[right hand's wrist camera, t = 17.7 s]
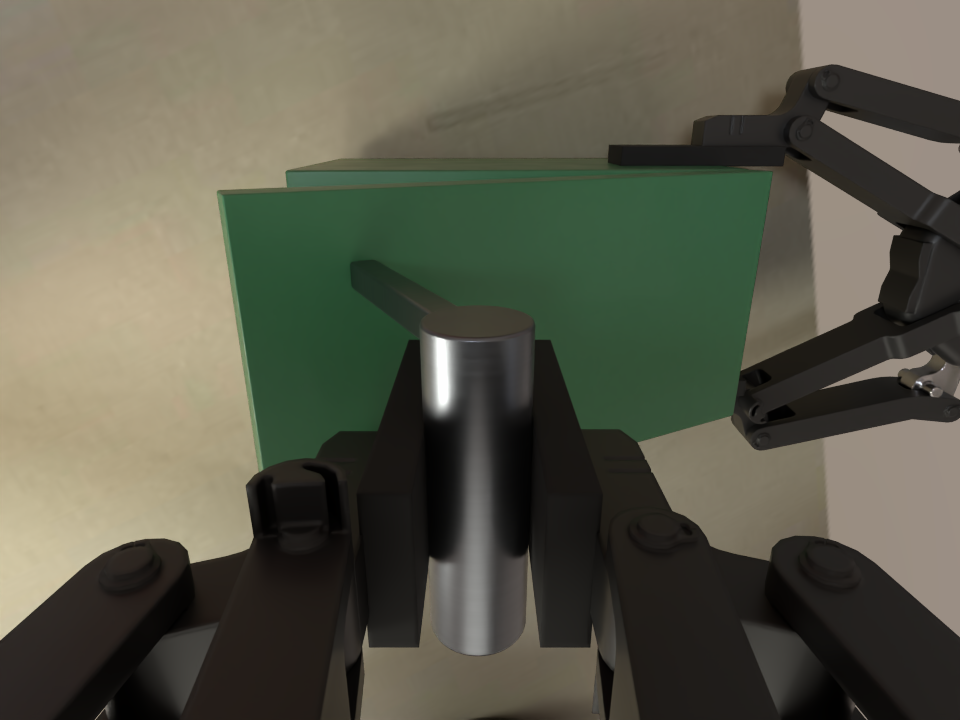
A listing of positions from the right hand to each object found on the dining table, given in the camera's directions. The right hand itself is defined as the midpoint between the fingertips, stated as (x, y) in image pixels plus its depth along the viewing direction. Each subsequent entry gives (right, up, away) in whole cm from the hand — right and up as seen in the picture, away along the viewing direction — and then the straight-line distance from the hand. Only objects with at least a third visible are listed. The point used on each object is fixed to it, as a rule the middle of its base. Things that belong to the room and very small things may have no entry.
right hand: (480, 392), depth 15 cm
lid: (+2, +2, +5) cm, 6 cm away
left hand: (+6, +5, +12) cm, 14 cm away
